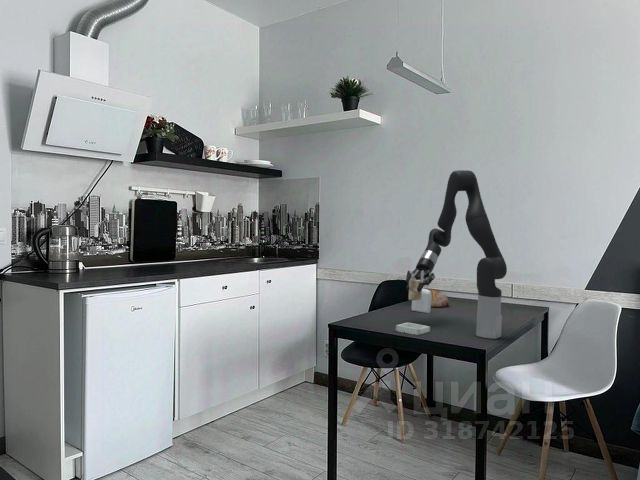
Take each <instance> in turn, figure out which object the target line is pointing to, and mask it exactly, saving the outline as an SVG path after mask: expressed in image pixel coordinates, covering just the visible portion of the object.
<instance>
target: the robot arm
mask: <svg viewBox="0 0 640 480" xmlns="http://www.w3.org/2000/svg"><path fill="white" fill-rule="evenodd" d="M459 192H465V194H466V196H467V199H468V205H467V209H466V213H465V222H466V223H465V224H466V227H467V229H468V232H469V234H470V236H471V237H472V239H473V240H474V241H475V242H476V243H477V244H478V246H479V247H480V249H481V250H482V251H483V253H484V256H485V257H483V258H481V259H480V260H479V261H478V263H477V266H476V288H477V292H478V293H477V294H478V295H477V307H476V308H477V309H476V310H477V313H476V330H475V332H476V333H475V335H476V336H477V337H479V338H484V339H494V340H497V339H499V338H501V337H502V327H503V326H502V323H503V314H501V310H502V309H501V308H502V307H501V306H502V289H500V288H499V287H497V285H496V280H501V279H504V278H505V276H506V275H507V271H508V267H507V264H506V261H505V259H504V256H503V254H502V252H501V250H500V248H499V246H498V243H497V240H496V238H495V235H494V232H493V229H492V226H491V223H490V220H489V217H488V215H487V212H486V210H485V205H484V203H483V200H482V195H481V192H480V187H479V184H478V178H477V176H476V174H475V172H473V171H472V170H467V169H465V170H454V171H452V172H451V173H450V175H449V177H448V180H447V184H446V190H445V196H444V202H443V205H442V209H441V213H440V215H439V218H438V221H437V227H439V229H438V228H437V227H436V228H435V227H434V228H433V229H431V230H430V231H429V234H428V241H427V245H426V248H425V249H424V252H423V253H422V254H421V255H420V258H419V259H418V261H417V263H416V267H415V269H414V270H412V271H410V270H407V272H406V277H405V280H406V282H407V285H406V289H407V291H408V292H409V280H413V279H414V280H421V283H420V284H419V286H418V287H417V291H418V292H420V291H421V290H422V288H423V289H424V287H425V286H427V287H428V286H429V285H431V283H432V282H433V281H434V280H435V278H436V275H435V273H434V272H433V270H434V268H435V266H436V264H437V262H438V258H439V257H440V255H441V252H442V247H443V248H445V247H448V246H449V245H450V244H451V241H452V229H453V225H454V223H455V221H456V218H457V214H458V213H457V212H458V209H457V205H456V196H457V194H458V193H459Z"/></svg>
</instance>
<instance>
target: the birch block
mask: <svg viewBox="0 0 640 480" xmlns="http://www.w3.org/2000/svg"><path fill="white" fill-rule="evenodd" d="M420 283H421V280H414V279H413V280H409V291H408V301H412V300H414V301H420V300H421V293H422V290H421V291H420V292H418V291H417V287H418V286H419V284H420Z"/></svg>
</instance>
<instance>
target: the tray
mask: <svg viewBox="0 0 640 480" xmlns="http://www.w3.org/2000/svg"><path fill="white" fill-rule="evenodd" d="M395 332H399V333H404V332H405V333H406V334H409V335H414V334H415V335H414V336H421V334H422V335H425V334H428V333H430V332H431V326H430V325H424V324H419V323H415V322H414V323H413V322H403V323H400V324H395ZM405 333H404V334H405Z"/></svg>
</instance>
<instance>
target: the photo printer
mask: <svg viewBox="0 0 640 480" xmlns="http://www.w3.org/2000/svg"><path fill="white" fill-rule="evenodd" d="M429 290H430V289H426V288H424V287H423V288H422V293H421V300H420V301H414V300H411V311H413V312H419V313H424V314H425V313H426V314H430V313H431V308H432V307H431V291H429Z"/></svg>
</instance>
